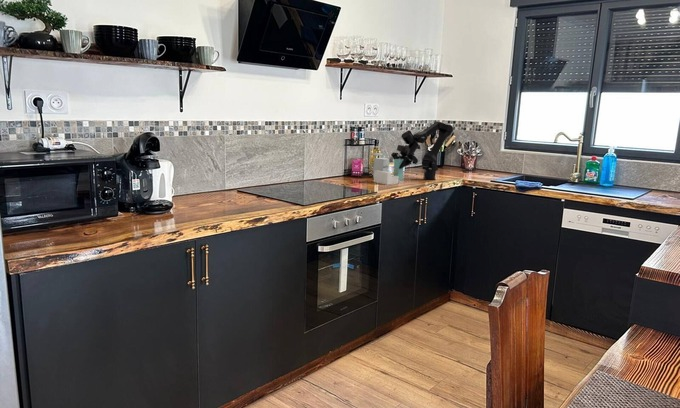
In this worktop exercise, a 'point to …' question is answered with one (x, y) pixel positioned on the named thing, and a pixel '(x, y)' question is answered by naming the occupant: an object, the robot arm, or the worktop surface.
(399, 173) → the teal rectangular block
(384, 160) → the supplement box
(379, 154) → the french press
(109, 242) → the worktop surface
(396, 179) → the socket
